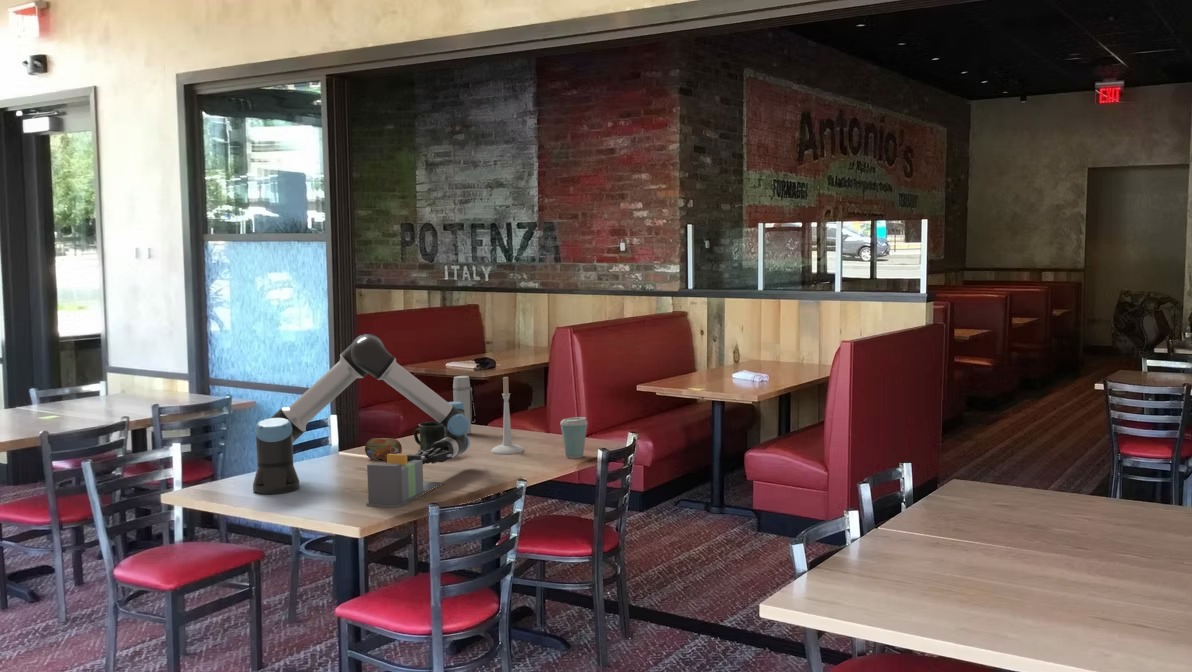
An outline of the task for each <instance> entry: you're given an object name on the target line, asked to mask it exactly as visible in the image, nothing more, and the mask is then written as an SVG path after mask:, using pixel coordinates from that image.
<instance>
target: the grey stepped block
mask: <svg viewBox="0 0 1192 672" xmlns="http://www.w3.org/2000/svg"><path fill="white" fill-rule="evenodd" d="M423 467H424V466H423V462H422V460H413V461H410V462H408V463H407V464H406V465H401V464H391V463H387V462H386V463H385V462H384V463H383V462H371V463H368V464H366V470H367V471H366V472H367V496H368V497H367V499H368V502H366V507H376V506H378V508H379V507H381V508H395V509H396V508H397V509H399V508H400V507H402V506H404V505H406V504H408V503H410V502H412V501H414V500H415V499H414V498H416V497H418V496H419V497H421V496H423V495H424V494H423V493H425V492H427V491H428V490H430V489H432V488H434V487H436V486H438V485H440V484H442V485H443V483H442V481H425V480H424V470H423ZM440 486H441V485H440ZM438 487H439V486H438ZM436 488H437V487H436ZM427 493H428V492H427ZM422 494H423V495H422ZM425 494H426V493H425ZM420 495H421V496H420ZM419 497H418V498H419ZM413 499H414V500H413ZM416 499H417V498H416ZM411 500H412V501H411ZM409 501H410V502H409ZM407 502H408V503H407Z"/></svg>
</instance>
